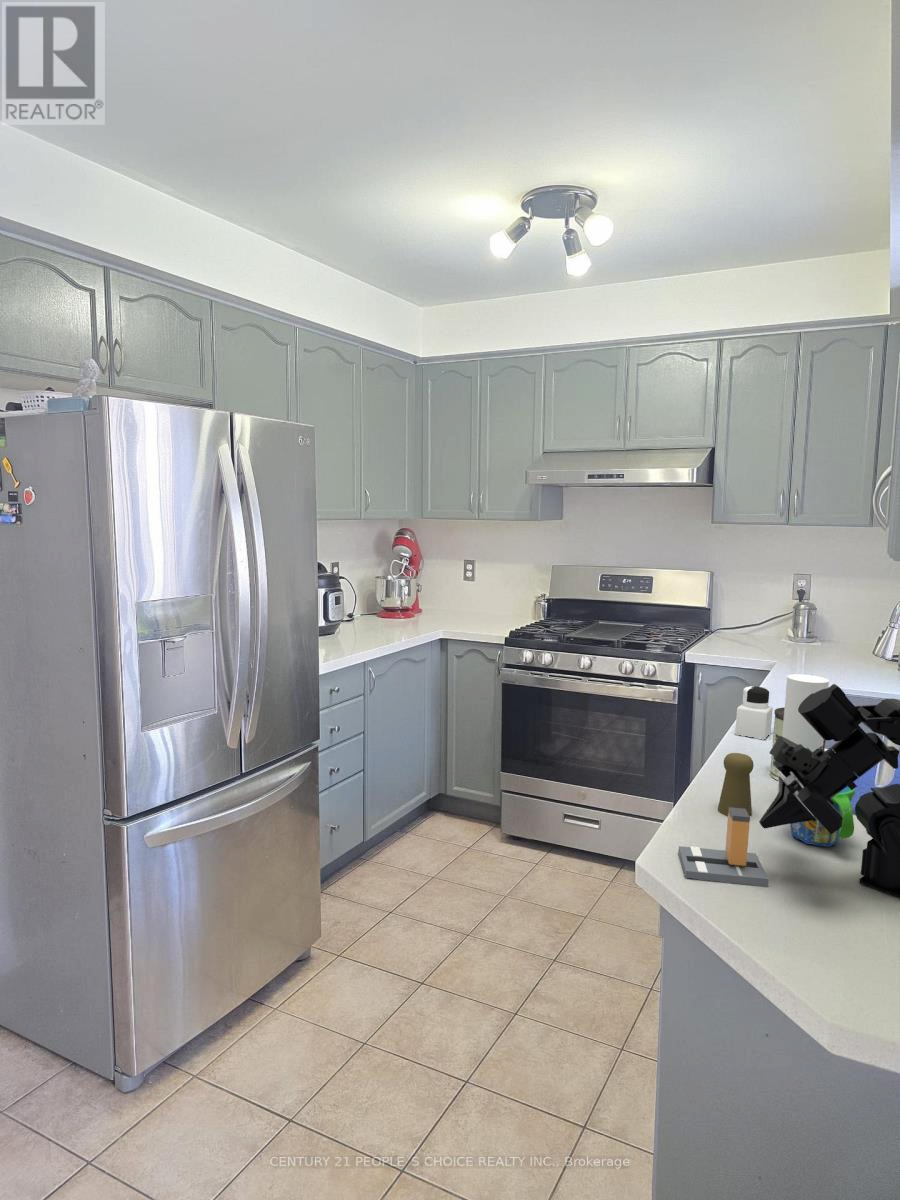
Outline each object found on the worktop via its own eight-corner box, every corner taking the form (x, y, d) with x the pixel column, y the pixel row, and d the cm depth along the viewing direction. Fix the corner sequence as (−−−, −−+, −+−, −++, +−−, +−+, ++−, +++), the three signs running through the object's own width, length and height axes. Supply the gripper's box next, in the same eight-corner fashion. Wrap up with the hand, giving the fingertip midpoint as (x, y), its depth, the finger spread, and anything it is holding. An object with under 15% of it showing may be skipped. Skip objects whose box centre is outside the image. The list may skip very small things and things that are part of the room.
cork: (724, 803, 154) (728, 747, 152) (756, 811, 150) (761, 754, 148) (712, 812, 149) (716, 754, 148) (745, 820, 145) (749, 762, 144)
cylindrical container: (822, 807, 153) (834, 679, 150) (809, 817, 148) (821, 684, 145) (784, 797, 158) (795, 672, 155) (770, 806, 153) (781, 677, 149)
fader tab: (740, 863, 127) (745, 808, 126) (745, 873, 123) (749, 817, 122) (724, 862, 127) (728, 807, 126) (728, 872, 124) (732, 815, 122)
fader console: (755, 860, 129) (755, 852, 129) (768, 886, 120) (768, 878, 120) (678, 853, 131) (678, 845, 131) (685, 878, 122) (686, 870, 122)
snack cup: (871, 859, 131) (877, 799, 130) (809, 859, 130) (815, 799, 129) (819, 820, 146) (824, 766, 145) (764, 821, 145) (768, 766, 144)
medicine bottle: (770, 733, 202) (774, 687, 200) (764, 740, 196) (768, 692, 194) (741, 728, 206) (744, 683, 204) (734, 735, 200) (738, 688, 198)
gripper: (791, 707, 130) (715, 766, 133) (826, 740, 112) (737, 809, 115) (838, 758, 130) (761, 817, 133) (881, 800, 111) (790, 867, 115)
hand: (761, 825), depth 124 cm, fingers closed
